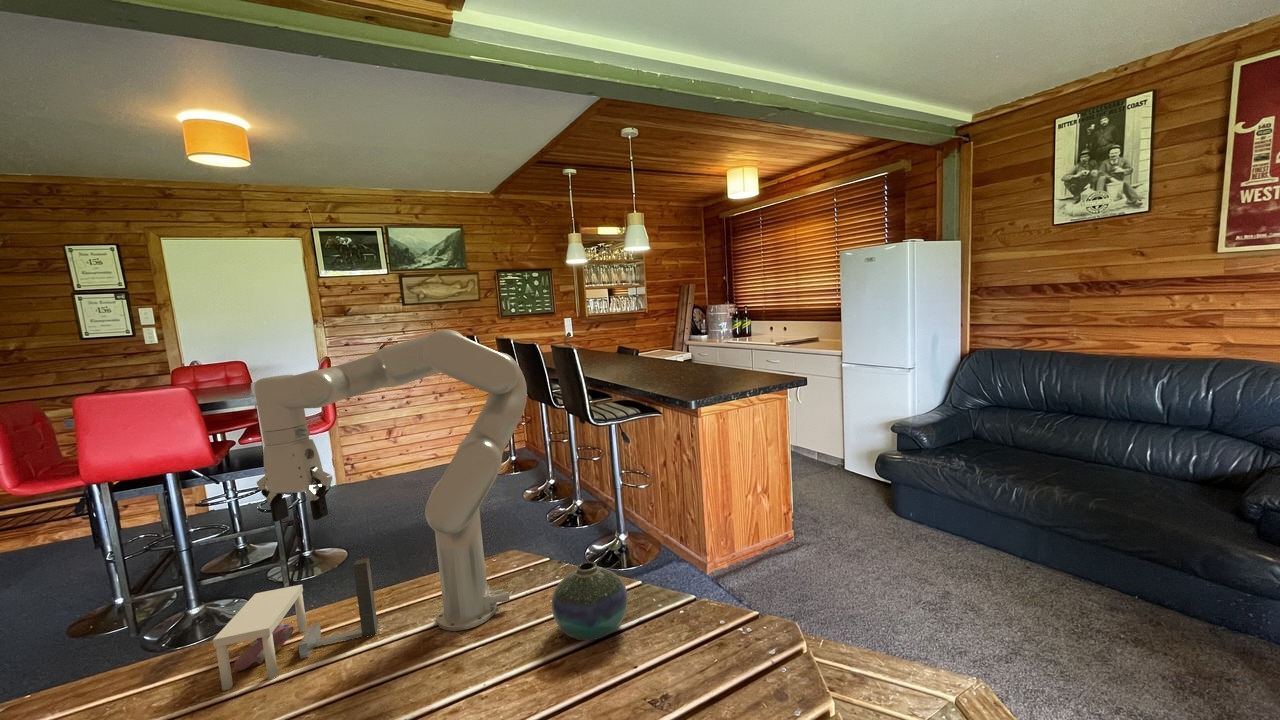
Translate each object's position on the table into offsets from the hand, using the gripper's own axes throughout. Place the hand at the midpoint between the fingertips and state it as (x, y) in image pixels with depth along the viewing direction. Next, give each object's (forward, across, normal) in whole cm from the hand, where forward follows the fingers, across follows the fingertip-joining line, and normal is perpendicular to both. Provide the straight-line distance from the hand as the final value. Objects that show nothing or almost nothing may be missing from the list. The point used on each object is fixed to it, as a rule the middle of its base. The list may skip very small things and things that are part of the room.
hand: (300, 518), depth 106 cm
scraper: (+28, -3, -2) cm, 28 cm away
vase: (+30, -56, -9) cm, 64 cm away
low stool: (+27, +9, +4) cm, 29 cm away
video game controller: (+28, +10, +4) cm, 29 cm away
